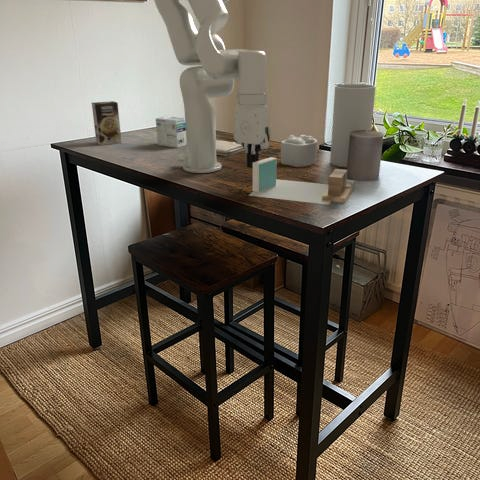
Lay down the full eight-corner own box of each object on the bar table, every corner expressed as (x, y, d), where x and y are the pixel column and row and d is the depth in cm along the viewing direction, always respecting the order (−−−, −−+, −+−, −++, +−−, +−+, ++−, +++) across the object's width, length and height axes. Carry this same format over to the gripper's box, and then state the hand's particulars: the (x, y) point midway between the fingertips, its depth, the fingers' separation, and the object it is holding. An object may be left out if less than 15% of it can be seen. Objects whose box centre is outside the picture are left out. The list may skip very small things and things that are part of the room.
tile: (252, 190, 132) (252, 162, 129) (270, 184, 138) (271, 157, 134) (258, 192, 131) (258, 163, 128) (276, 185, 136) (276, 158, 133)
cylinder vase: (344, 170, 152) (350, 89, 142) (322, 161, 163) (327, 85, 153) (375, 165, 157) (384, 86, 147) (353, 157, 167) (359, 83, 157)
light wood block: (344, 197, 123) (346, 178, 121) (323, 194, 125) (324, 176, 123) (354, 182, 134) (355, 164, 132) (334, 180, 136) (335, 163, 134)
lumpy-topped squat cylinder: (276, 162, 163) (277, 137, 159) (299, 155, 171) (300, 131, 168) (301, 168, 156) (302, 141, 153) (323, 160, 165) (325, 135, 161)
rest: (321, 202, 125) (322, 195, 124) (331, 189, 135) (331, 182, 134) (344, 204, 123) (345, 198, 122) (352, 191, 133) (353, 185, 132)
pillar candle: (343, 174, 149) (347, 125, 142) (375, 173, 148) (380, 125, 142) (349, 183, 140) (353, 132, 134) (382, 183, 139) (388, 132, 133)
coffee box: (100, 145, 190) (94, 104, 184) (96, 142, 196) (90, 102, 189) (122, 142, 195) (117, 102, 188) (117, 140, 200) (113, 100, 193)
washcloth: (228, 158, 171) (228, 149, 170) (191, 151, 181) (190, 143, 180) (247, 151, 180) (247, 143, 179) (211, 145, 190) (211, 138, 189)
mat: (248, 197, 129) (248, 195, 129) (268, 180, 143) (268, 178, 143) (328, 206, 121) (328, 204, 121) (341, 187, 136) (341, 185, 135)
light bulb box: (188, 144, 190) (187, 117, 186) (178, 148, 185) (176, 120, 180) (168, 142, 195) (166, 115, 191) (157, 145, 190) (154, 117, 186)
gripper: (222, 99, 130) (224, 165, 137) (264, 103, 120) (264, 174, 128) (241, 96, 135) (242, 160, 142) (283, 100, 125) (281, 168, 133)
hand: (252, 166), depth 135 cm, fingers closed
